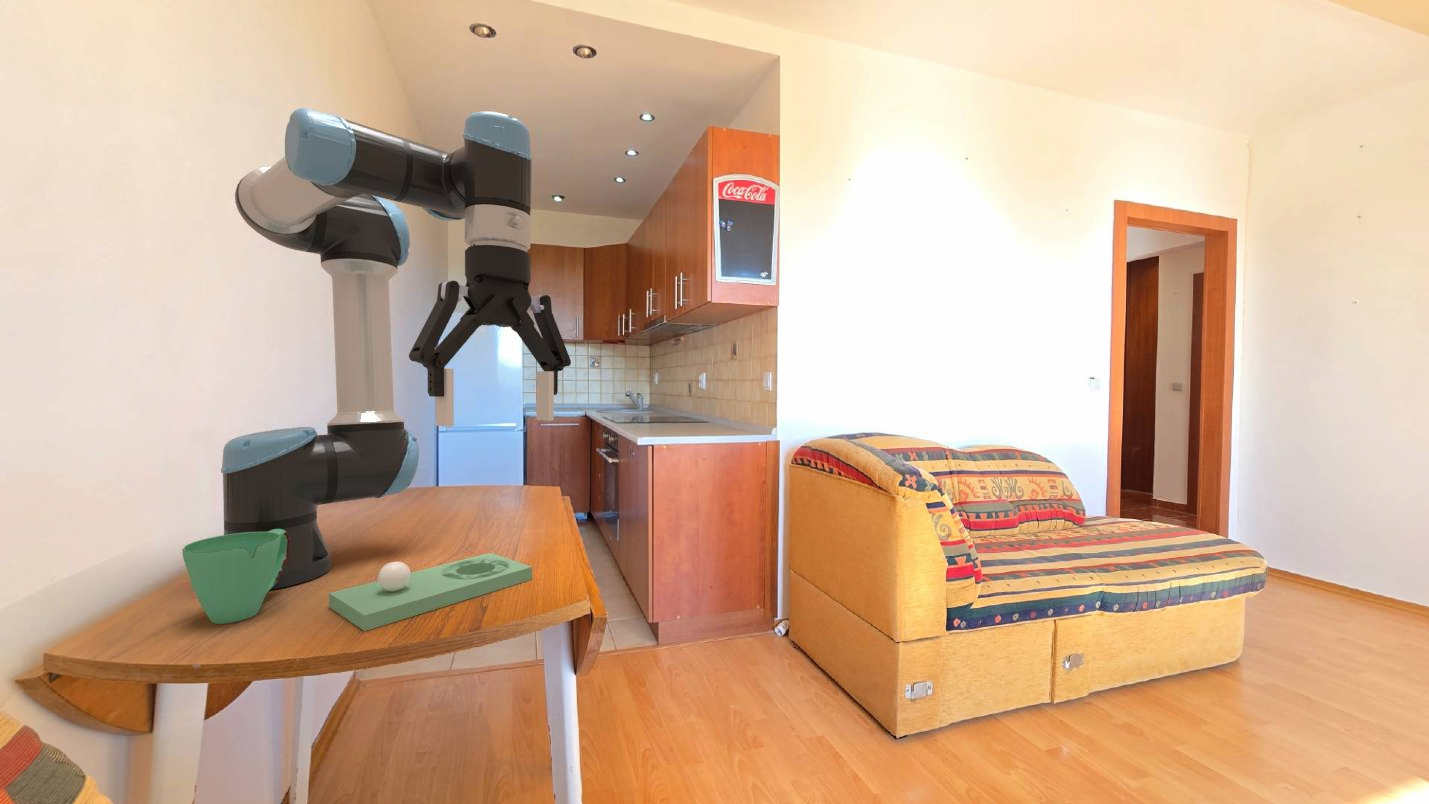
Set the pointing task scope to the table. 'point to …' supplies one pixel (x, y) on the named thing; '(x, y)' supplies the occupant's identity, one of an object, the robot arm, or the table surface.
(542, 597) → the table surface
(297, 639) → the table surface
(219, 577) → the mug
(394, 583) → the ball
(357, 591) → the green rectangular board
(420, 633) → the table surface
